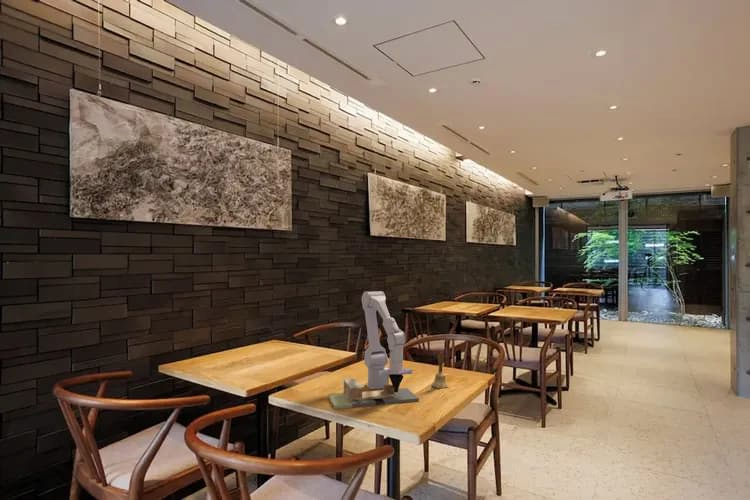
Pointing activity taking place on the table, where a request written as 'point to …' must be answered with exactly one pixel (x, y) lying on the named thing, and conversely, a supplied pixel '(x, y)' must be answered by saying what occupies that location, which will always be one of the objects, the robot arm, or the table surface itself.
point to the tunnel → (353, 385)
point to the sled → (377, 393)
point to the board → (400, 397)
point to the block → (355, 392)
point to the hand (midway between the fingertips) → (395, 391)
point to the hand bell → (440, 375)
